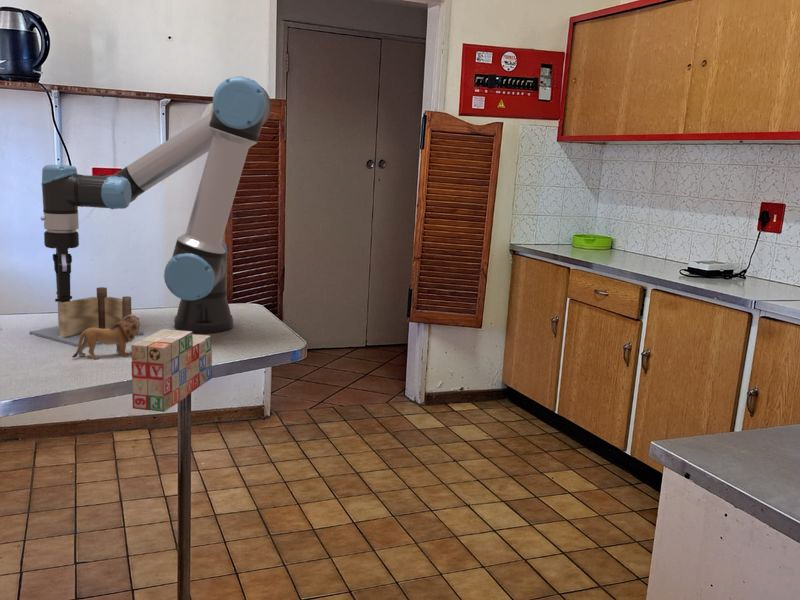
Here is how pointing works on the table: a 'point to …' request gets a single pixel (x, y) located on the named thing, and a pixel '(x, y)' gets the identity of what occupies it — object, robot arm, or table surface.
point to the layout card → (54, 334)
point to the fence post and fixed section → (111, 308)
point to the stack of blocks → (169, 368)
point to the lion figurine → (110, 336)
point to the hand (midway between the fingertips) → (64, 326)
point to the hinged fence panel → (78, 316)
